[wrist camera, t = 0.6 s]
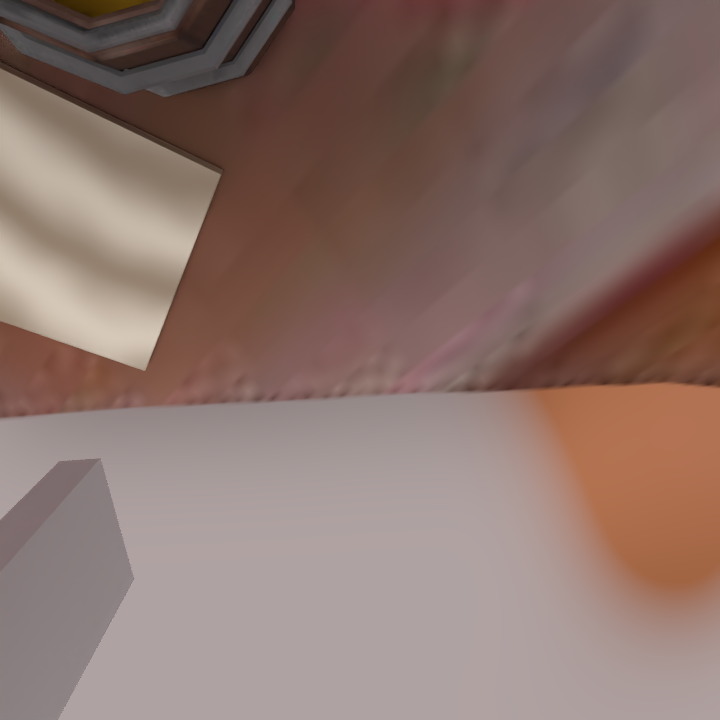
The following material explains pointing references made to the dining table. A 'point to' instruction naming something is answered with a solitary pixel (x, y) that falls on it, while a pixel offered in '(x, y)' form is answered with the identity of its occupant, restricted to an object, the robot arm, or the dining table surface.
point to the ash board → (92, 221)
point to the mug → (146, 39)
